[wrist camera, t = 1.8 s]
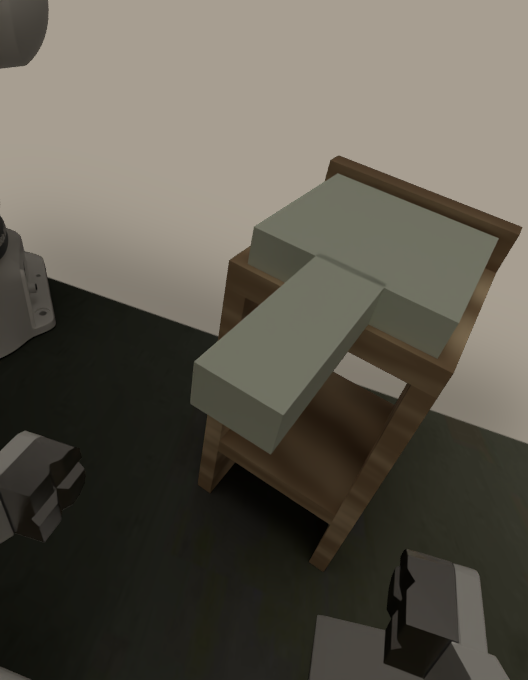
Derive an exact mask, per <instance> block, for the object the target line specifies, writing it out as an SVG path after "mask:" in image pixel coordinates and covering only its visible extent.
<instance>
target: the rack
mask: <svg viewBox="0 0 528 680" xmlns="http://www.w3.org/2000/svg"><path fill="white" fill-rule="evenodd" d="M337 173H338V174H341V175H343V176H346V177H348V178H351V179H353V180H356V181H358V182H361V183H363V184H365V185H368V186H370V187H373V188H375V189H378V190H380V191H383V192H385V193H388V194H390V195H393V196H395V197H398V198H400V199H403V200H405V201H408V202H410V203H413V204H415V205H418V206H420V207H422V208H425V209H427V210H430V211H432V212H435V213H437V214H440V215H442V216H445V217H447V218H450V219H452V220H455V221H457V222H460V223H462V224H465V225H467V226H470V227H472V228H475V229H477V230H479V231H482V232H484V233H487V234H489V235H492V236H494V237H497V238H499V239H498V241H497V244H496V246H495V248H494V250H493V252H492V254H491V256H490V258H489V260H488V263H487V265H486V267H485V269H484V271H483V273H482V275H481V277H480V279H479V282H478V284H477V286H476V288H475V290H474V292H473V294H472V296H471V298H470V301H469V303H468V305H467V307H466V309H465V311H464V313H463V315H462V318H461V320H460V322H459V324H458V325H457V327H456V329H455V330H454V332H453V334H452V335H451V337H450V339H449V340H448V342H447V344H446V345H445V347H444V349H443V350H442V352H441V354H440V355H439V357H438V359H437V358H435V357H433V356H431V355H429V354H427V353H425V352H423V351H421V350H419V349H417V348H415V347H413V346H411V345H409V344H407V343H405V342H403V341H401V340H399V339H397V338H395V337H393V336H391V335H389V334H387V333H385V332H383V331H381V330H379V329H377V328H375V327H373V326H371V325H369V324H368V325H367V327H366V328H365V329H364V331H363V332H362V333H361V335H360V336H359V337H358V339H357V340H356V341H355V343H354V344H353V345H352V347H351V348H350V349H349V351H348V352H349V353H351V354H353V355H355V356H357V357H359V358H361V359H363V360H365V361H367V362H369V363H370V364H372V365H374V366H376V367H378V368H380V369H382V370H384V371H385V372H387V373H389V374H391V375H393V376H395V377H397V378H399V379H401V380H403V381H404V382H406V383H407V384H406V386H405V388H404V390H403V391H402V393H401V395H400V397H399V398H398V400H397V402H396V404H395V405H393V404H391V403H389V402H388V401H386V400H384V399H382V398H380V397H378V396H377V395H375V394H373V393H371V392H369V391H367V390H366V389H364V388H362V387H360V386H358V385H356V384H355V383H353V382H351V381H349V380H347V379H345V378H344V377H342V376H340V375H338V374H336V373H335V372H332V373H331V375H330V376H329V377H328V379H327V380H326V381H325V383H324V384H323V385H322V387H321V388H320V389H319V391H318V392H317V393H316V395H315V396H314V398H313V399H312V400H311V402H310V403H309V404H308V406H307V407H306V408H305V410H304V411H303V412H302V414H301V415H300V416H299V418H298V419H297V420H296V422H295V423H294V424H293V426H292V427H291V428H290V430H289V431H288V432H287V434H286V435H285V436H284V438H283V439H282V440H281V442H280V443H279V444H278V446H277V447H276V448H275V450H274V451H273V452H272V454H269V453H267V452H266V451H264V450H263V449H261V448H260V447H258V446H256V445H255V444H253V443H252V442H250V441H248V440H247V439H245V438H244V437H242V436H241V435H239V434H237V433H236V432H234V431H233V430H231V429H230V428H228V427H226V426H225V425H223V424H222V423H220V422H219V421H217V420H215V419H214V418H212V417H211V416H209V415H207V422H206V429H205V437H204V444H203V451H202V458H201V465H200V472H199V479H198V485H199V486H200V487H202V488H203V489H205V490H206V491H208V492H209V493H211V492H212V490H213V489H214V488H215V487H216V485H217V484H218V483H219V482H220V480H221V479H222V478H223V477H224V476H225V474H226V473H227V472H228V471H229V469H230V468H231V467H232V466H233V464H234V463H235V462H236V463H237V464H239V465H240V466H242V467H243V468H245V469H246V470H248V471H249V472H251V473H252V474H254V475H255V476H257V477H258V478H260V479H261V480H263V481H264V482H266V483H267V484H269V485H270V486H272V487H273V488H275V489H277V490H278V491H280V492H281V493H283V494H284V495H286V496H287V497H289V498H290V499H292V500H293V501H295V502H296V503H298V504H299V505H301V506H302V507H304V508H305V509H307V510H308V511H310V512H311V513H313V514H315V515H316V516H318V517H319V518H321V519H322V520H324V521H325V522H327V523H328V524H329V525H328V527H327V529H326V531H325V533H324V535H323V536H322V538H321V540H320V542H319V544H318V546H317V548H316V549H315V551H314V553H313V555H312V557H311V559H310V561H309V562H310V563H311V564H313V565H314V566H315V567H317V568H318V569H320V570H321V571H323V572H324V570H325V569H326V567H327V566H328V564H329V563H330V561H331V560H332V558H333V557H334V555H335V554H336V552H337V551H338V549H339V548H340V546H341V544H342V543H343V541H344V540H345V538H346V537H347V535H348V534H349V532H350V531H351V529H352V528H353V526H354V525H355V523H356V522H357V520H358V518H359V517H360V515H361V514H362V512H363V511H364V509H365V508H366V506H367V505H368V503H369V502H370V500H371V499H372V497H373V496H374V494H375V493H376V491H377V489H378V488H379V486H380V485H381V483H382V482H383V480H384V479H385V477H386V476H387V474H388V473H389V471H390V470H391V468H392V467H393V465H394V463H395V462H396V460H397V459H398V457H399V456H400V454H401V453H402V451H403V450H404V448H405V447H406V445H407V444H408V442H409V441H410V439H411V437H412V436H413V434H414V433H415V431H416V430H417V428H418V427H419V425H420V424H421V422H422V421H423V419H424V418H425V416H426V415H427V413H428V411H429V410H430V408H431V407H432V405H433V404H434V402H435V401H436V399H437V398H438V396H439V395H440V393H441V391H442V390H443V388H444V387H445V385H446V384H447V382H448V381H449V379H450V378H451V376H452V375H453V373H454V371H455V368H456V366H457V364H458V361H459V359H460V357H461V354H462V352H463V350H464V347H465V345H466V343H467V340H468V338H469V335H470V333H471V331H472V328H473V326H474V324H475V321H476V319H477V316H478V314H479V312H480V310H481V307H482V305H483V302H484V300H485V298H486V295H487V293H488V291H489V288H490V286H491V284H492V281H493V279H494V277H495V274H496V272H497V270H498V269H499V267H500V265H501V263H502V262H503V260H504V259H505V257H506V256H507V254H508V253H509V251H510V249H511V248H512V246H513V244H514V243H515V241H516V240H517V238H518V236H519V234H520V232H521V229H522V227H520V226H518V225H515V224H513V223H510V222H508V221H505V220H503V219H500V218H497V217H495V216H493V215H490V214H487V213H485V212H482V211H480V210H477V209H475V208H472V207H469V206H467V205H464V204H462V203H459V202H457V201H454V200H452V199H449V198H446V197H444V196H441V195H439V194H436V193H434V192H431V191H428V190H426V189H423V188H421V187H418V186H416V185H413V184H411V183H408V182H405V181H403V180H400V179H398V178H395V177H393V176H390V175H388V174H385V173H382V172H380V171H377V170H375V169H372V168H370V167H367V166H364V165H362V164H359V163H357V162H354V161H352V160H349V159H347V158H344V157H341V156H337V157H335V158H333V159H332V160H330V164H329V167H328V172H327V175H326V179H325V181H326V180H328V179H330V178H331V177H333V176H334V175H336V174H337ZM250 247H251V246H249V247H248V248H246V249H245V250H244V251H242V252H241V253H239V254H238V255H236V256H235V257H233V258H232V259H231V260H229V266H228V273H227V280H226V287H225V294H224V301H223V309H222V315H221V323H220V330H219V337H218V341H219V340H220V339H221V338H222V337H223V336H224V335H226V334H227V333H228V332H229V331H230V330H231V329H232V328H234V327H235V326H236V325H237V324H238V323H239V322H241V321H242V320H243V319H244V318H245V317H246V316H247V315H249V314H250V313H251V312H252V311H253V310H254V309H255V308H257V307H258V306H259V305H260V304H261V303H262V302H263V301H265V300H266V299H267V298H268V297H269V296H270V295H272V294H273V293H274V292H275V291H276V290H277V289H278V288H280V287H281V286H282V285H283V284H284V283H285V282H283V281H281V280H279V279H277V278H275V277H273V276H271V275H269V274H267V273H265V272H263V271H261V270H259V269H257V268H255V267H253V266H251V265H249V264H248V259H249V253H250Z"/></svg>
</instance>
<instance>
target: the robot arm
mask: <svg viewBox="0 0 528 680" xmlns="http://www.w3.org/2000/svg"><path fill="white" fill-rule="evenodd" d="M47 24H48V0H0V68H8V67H16V66H17V67H18V66H25V65H27V64H28V63H29V62H30V61H31V60H32V59H33V58H34V56H35V55H36V54H37V52H38V50H39V49H40V47H41V45H42V43H43V40H44V37H45V34H46V30H47ZM55 325H56V320H55V315H54V310H53V305H52V299H51V294H50V289H49V284H48V279H47V274H46V268H45V264H44V261H43V258H42V257H41V256H39V255H36V254H33V253H30V252H25V251H24V249H23V244H22V239H21V236H20V235H19V234H18V233H16V232H15V231H13V230H11V229H7V228H6V227H5V224H4V221H3V219H2V218H1V216H0V358H2V357H4V356H6V355H8V354H10V353H11V352H13V351H15V350H16V349H17V348H19V347H20V346H21V345H23V344H24V343H25V342H26V341H28V340H29V339H30V338H32V337H34V336H36V335H39V334H41V333H44V332H46V331H48V330H50V329H52V328H53V327H54V326H55ZM81 458H82V455H81V451H80V448H77V447H74V446H71V445H68V444H65V443H61V442H58V441H55V440H52V439H49V438H46V437H44V436H40V435H37V434H34V433H31V432H27V431H23V432H21V433H19V434H17V435H16V436H15V437H14V438H13V439H12V440H11V441H10V442H9V443H8V444H7V445H6V446H5V447H4V448H3V449H2V450H1V451H0V543H2V542H3V541H5V540H7V539H8V538H10V537H11V536H13V535H14V533H16V534H19V535H22V536H26V537H29V538H32V539H35V540H38V541H41V542H45V541H46V540H47V538H48V537H49V536H50V534H51V533H52V532H53V530H54V529H55V528H56V526H57V525H58V524H59V523H60V521H61V520H62V510H63V509H65V508H67V507H69V506H71V505H73V504H74V502H75V501H76V500H77V498H78V497H79V495H80V493H81V491H82V489H83V486H84V484H85V477H86V475H85V469H84V468H83V467H82V465H81V464H80V463H79V460H80V459H81ZM387 611H388V613H389V615H390V617H391V620H390V622H389V624H388V626H387V628H386V630H385V644H384V661H383V663H384V664H386V665H389V666H392V667H394V668H397V669H399V670H402V671H404V672H407V673H410V674H412V675H415V676H417V677H420V678H423V679H424V680H510V679H509V678H508V676H507V675H506V673H505V671H504V670H503V668H502V666H501V665H500V663H499V661H498V660H497V658H496V656H493V655H491V654H488V650H487V640H486V631H485V622H484V612H483V603H482V594H481V584H480V576H479V574H478V572H477V571H476V570H475V569H472V568H468V567H465V566H461V565H458V564H454V563H451V562H450V561H447V560H443V559H440V558H436V557H433V556H430V555H426V554H423V553H419V552H416V551H412V550H409V549H405V550H404V551H403V553H402V555H401V558H400V566H399V567H396V568H395V570H394V572H393V574H392V577H391V581H390V585H389V591H388V599H387ZM0 680H31V679H29V678H26V677H24V676H22V675H19V674H17V673H14V672H12V671H10V670H7V669H5V668H2V667H0Z"/></svg>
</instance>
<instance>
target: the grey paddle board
mask: <svg viewBox="0 0 528 680" xmlns="http://www.w3.org/2000/svg"><path fill="white" fill-rule="evenodd" d="M498 239H499V238H497V237H494V236H492V235H489V234H487V233H484V232H482V231H479V230H477V229H475V228H472V227H470V226H467V225H465V224H462V223H460V222H457V221H455V220H452V219H450V218H447V217H445V216H442V215H440V214H437V213H435V212H432V211H430V210H427V209H425V208H422V207H420V206H418V205H415V204H413V203H410V202H408V201H405V200H403V199H400V198H398V197H395V196H393V195H390V194H388V193H385V192H383V191H380V190H378V189H375V188H373V187H370V186H368V185H365V184H363V183H361V182H358V181H356V180H353V179H351V178H348V177H346V176H343V175H341V174H338V173H337V174H336V175H334V176H333V177H331V178H330V179H328V180H326V181H325V182H323V183H322V184H321V185H319V186H317V187H316V188H314V189H312V190H311V191H310V192H308V193H306V194H305V195H303V196H302V197H300V198H298V199H297V200H295V201H294V202H292V203H291V204H289V205H287V206H286V207H284V208H283V209H281V210H280V211H278V212H276V213H275V214H273V215H272V216H270V217H269V218H267V219H266V220H264V221H262V222H261V223H259V224H258V225H256V226H255V227H254V230H253V236H252V241H251V247H250V253H249V259H248V264H249V265H251V266H253V267H255V268H257V269H259V270H261V271H263V272H265V273H267V274H269V275H271V276H273V277H275V278H277V279H279V280H281V281H283V282H285V283H284V284H283V285H282V286H281V287H280V288H278V289H277V290H276V291H275V292H274V293H273V294H272V295H270V296H269V297H268V298H267V299H266V300H265V301H263V302H262V303H261V304H260V305H259V306H258V307H257V308H255V309H254V310H253V311H252V312H251V313H250V314H249V315H247V316H246V317H245V318H244V319H243V320H242V321H241V322H239V323H238V324H237V325H236V326H235V327H234V328H232V329H231V330H230V331H229V332H228V333H227V334H226V335H224V336H223V337H222V338H221V339H220V340H219V341H218V342H216V343H215V344H214V345H213V346H212V347H211V348H209V349H208V350H207V351H206V352H205V353H204V354H203V355H201V356H200V357H199V358H198V359H197V360H196V361H195V362H194V368H193V379H192V389H191V399H190V404H192V405H193V406H195V407H197V408H198V409H200V410H201V411H203V412H204V413H206V414H208V415H209V416H211V417H212V418H214V419H215V420H217V421H219V422H220V423H222V424H223V425H225V426H226V427H228V428H230V429H231V430H233V431H234V432H236V433H237V434H239V435H241V436H242V437H244V438H245V439H247V440H248V441H250V442H252V443H253V444H255V445H256V446H258V447H260V448H261V449H263V450H264V451H266V452H267V453H269V454H272V452H273V451H274V450H275V448H276V447H277V446H278V444H279V443H280V442H281V440H282V439H283V438H284V436H285V435H286V434H287V432H288V431H289V430H290V428H291V427H292V426H293V424H294V423H295V422H296V420H297V419H298V418H299V416H300V415H301V414H302V412H303V411H304V410H305V408H306V407H307V406H308V404H309V403H310V402H311V400H312V399H313V398H314V396H315V395H316V393H317V392H318V391H319V389H320V388H321V387H322V385H323V384H324V383H325V381H326V380H327V379H328V377H329V376H330V375H331V373H332V372H333V371H334V369H335V368H336V367H337V365H338V364H339V363H340V361H341V360H342V359H343V357H344V356H345V355H346V353H347V352H348V351H349V349H350V348H351V347H352V345H353V344H354V343H355V341H356V340H357V339H358V337H359V336H360V335H361V333H362V332H363V331H364V329H365V328H366V327H367V325H368V324H369V325H371V326H373V327H375V328H377V329H379V330H381V331H383V332H385V333H387V334H389V335H391V336H393V337H395V338H397V339H399V340H401V341H403V342H405V343H407V344H409V345H411V346H413V347H415V348H417V349H419V350H421V351H423V352H425V353H427V354H429V355H431V356H433V357H435V358H437V359H438V357H439V355H440V354H441V352H442V350H443V349H444V347H445V345H446V344H447V342H448V340H449V339H450V337H451V335H452V334H453V332H454V330H455V329H456V327H457V325H458V324H459V322H460V320H461V318H462V315H463V313H464V311H465V309H466V307H467V305H468V303H469V301H470V298H471V296H472V294H473V292H474V290H475V288H476V286H477V284H478V282H479V279H480V277H481V275H482V273H483V271H484V269H485V267H486V265H487V263H488V260H489V258H490V256H491V254H492V252H493V250H494V248H495V246H496V244H497V241H498Z"/></svg>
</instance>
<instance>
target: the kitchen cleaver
mask: <svg viewBox="0 0 528 680" xmlns="http://www.w3.org/2000/svg"><path fill="white" fill-rule="evenodd" d="M384 644H385V630H381V629H377V628H373V627H369V626H365V625H361V624H357V623H352V622H348V621H344V620H339V619H335V618H331V617H327V616H322V615H317V622H316V629H315V636H314V643H313V650H312V657H311V664H310V671H309V678H308V680H424V679H423V678H420V677H417V676H415V675H412V674H410V673H407V672H404V671H402V670H399V669H397V668H394V667H392V666H389V665H386V664H384V663H383V661H384Z"/></svg>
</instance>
